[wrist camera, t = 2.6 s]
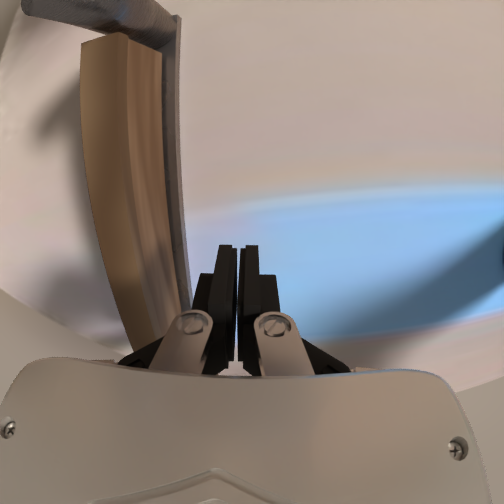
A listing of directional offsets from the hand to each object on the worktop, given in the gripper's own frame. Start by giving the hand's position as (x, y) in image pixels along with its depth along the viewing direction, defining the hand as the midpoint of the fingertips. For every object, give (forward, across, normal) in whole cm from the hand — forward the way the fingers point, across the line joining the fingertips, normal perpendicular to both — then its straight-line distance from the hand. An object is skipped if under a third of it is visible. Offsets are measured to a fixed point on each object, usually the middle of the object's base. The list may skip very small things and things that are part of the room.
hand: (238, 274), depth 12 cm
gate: (+7, +6, -1) cm, 10 cm away
